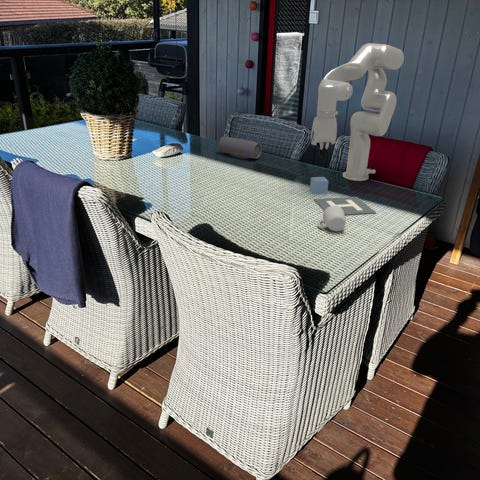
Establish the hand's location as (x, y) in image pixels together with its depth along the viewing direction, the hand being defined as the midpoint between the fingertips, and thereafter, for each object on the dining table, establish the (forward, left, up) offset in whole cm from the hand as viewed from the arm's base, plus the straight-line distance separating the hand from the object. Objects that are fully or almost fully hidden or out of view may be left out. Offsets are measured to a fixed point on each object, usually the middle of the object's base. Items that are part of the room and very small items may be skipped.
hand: (322, 157), depth 208 cm
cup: (+10, +41, -14) cm, 45 cm away
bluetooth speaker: (+22, -61, -17) cm, 67 cm away
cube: (-1, -2, -17) cm, 17 cm away
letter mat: (-5, +17, -16) cm, 24 cm away
